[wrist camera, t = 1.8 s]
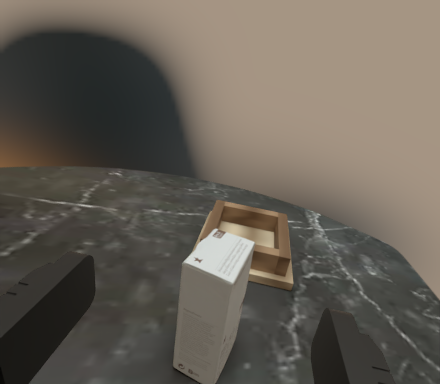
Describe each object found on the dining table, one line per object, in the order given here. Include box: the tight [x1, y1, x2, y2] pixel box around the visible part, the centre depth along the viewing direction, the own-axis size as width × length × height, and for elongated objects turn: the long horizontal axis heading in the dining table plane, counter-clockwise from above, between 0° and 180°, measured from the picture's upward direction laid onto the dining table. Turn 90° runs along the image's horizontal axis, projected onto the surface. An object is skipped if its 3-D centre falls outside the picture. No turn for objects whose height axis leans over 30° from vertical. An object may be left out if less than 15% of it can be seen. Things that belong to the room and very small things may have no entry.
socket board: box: [192, 200, 293, 291], centre depth 42 cm, size 14×14×4 cm
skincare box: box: [173, 229, 255, 384], centre depth 25 cm, size 6×4×12 cm
